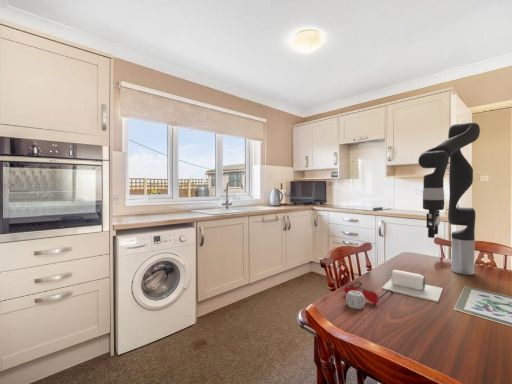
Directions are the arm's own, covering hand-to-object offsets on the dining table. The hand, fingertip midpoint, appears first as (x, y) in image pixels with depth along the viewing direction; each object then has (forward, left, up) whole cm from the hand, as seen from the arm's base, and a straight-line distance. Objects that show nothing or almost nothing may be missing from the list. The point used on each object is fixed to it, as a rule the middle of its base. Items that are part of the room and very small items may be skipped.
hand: (433, 235), depth 110 cm
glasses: (+23, -19, -24) cm, 38 cm away
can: (+6, -14, -19) cm, 25 cm away
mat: (+6, -7, -23) cm, 25 cm away
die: (+37, -20, -24) cm, 48 cm away
